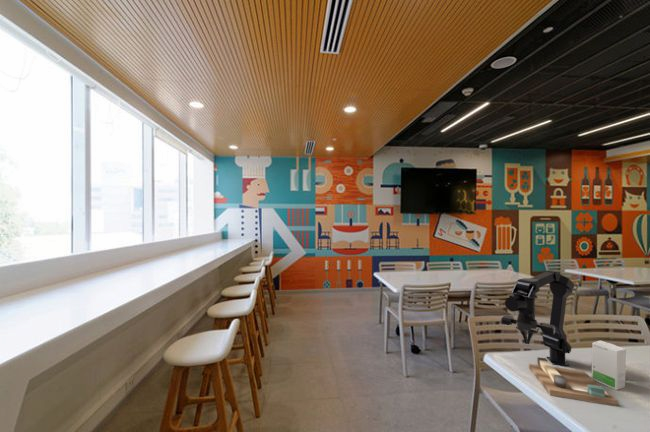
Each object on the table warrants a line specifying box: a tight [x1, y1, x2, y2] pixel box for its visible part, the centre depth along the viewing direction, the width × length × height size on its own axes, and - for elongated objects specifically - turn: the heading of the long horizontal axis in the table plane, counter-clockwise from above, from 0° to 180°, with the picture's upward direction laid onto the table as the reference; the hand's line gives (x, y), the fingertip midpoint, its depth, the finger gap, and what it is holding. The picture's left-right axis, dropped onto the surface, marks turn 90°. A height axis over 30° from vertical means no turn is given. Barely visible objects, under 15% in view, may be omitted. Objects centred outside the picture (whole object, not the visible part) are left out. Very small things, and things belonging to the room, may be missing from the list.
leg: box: [537, 357, 566, 388], centre depth 114 cm, size 18×4×3 cm, turn 162°
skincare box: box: [590, 339, 627, 391], centre depth 112 cm, size 8×7×16 cm
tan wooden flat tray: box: [528, 363, 618, 407], centre depth 111 cm, size 20×20×5 cm
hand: (527, 343), depth 121 cm, fingers closed
